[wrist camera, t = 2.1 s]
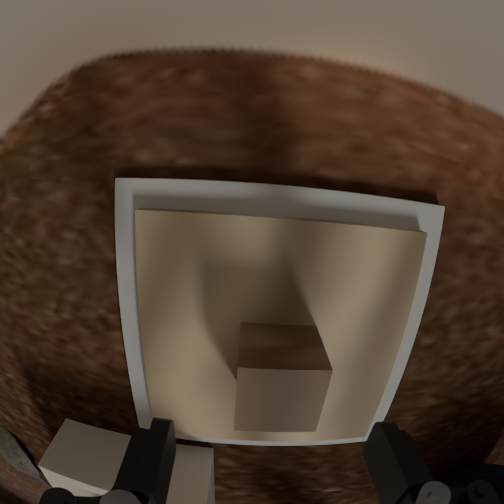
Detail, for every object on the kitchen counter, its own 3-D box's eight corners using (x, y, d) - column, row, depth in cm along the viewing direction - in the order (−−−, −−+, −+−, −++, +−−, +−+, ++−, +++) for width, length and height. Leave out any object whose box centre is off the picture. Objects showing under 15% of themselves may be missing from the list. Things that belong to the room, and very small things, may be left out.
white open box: (213, 448, 21) (206, 509, 15) (215, 513, 24) (211, 557, 19) (66, 418, 21) (37, 465, 15) (101, 491, 24) (86, 529, 18)
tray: (439, 205, 16) (445, 206, 15) (372, 434, 21) (374, 439, 20) (119, 177, 15) (115, 178, 15) (142, 426, 20) (140, 431, 20)
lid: (420, 229, 16) (470, 253, 11) (362, 429, 20) (379, 477, 15) (140, 207, 15) (98, 226, 11) (157, 422, 19) (141, 472, 15)
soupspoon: (9, 416, 23) (-8, 421, 24) (-6, 434, 20) (-21, 436, 21) (133, 525, 27) (104, 523, 28) (126, 543, 24) (98, 538, 25)
